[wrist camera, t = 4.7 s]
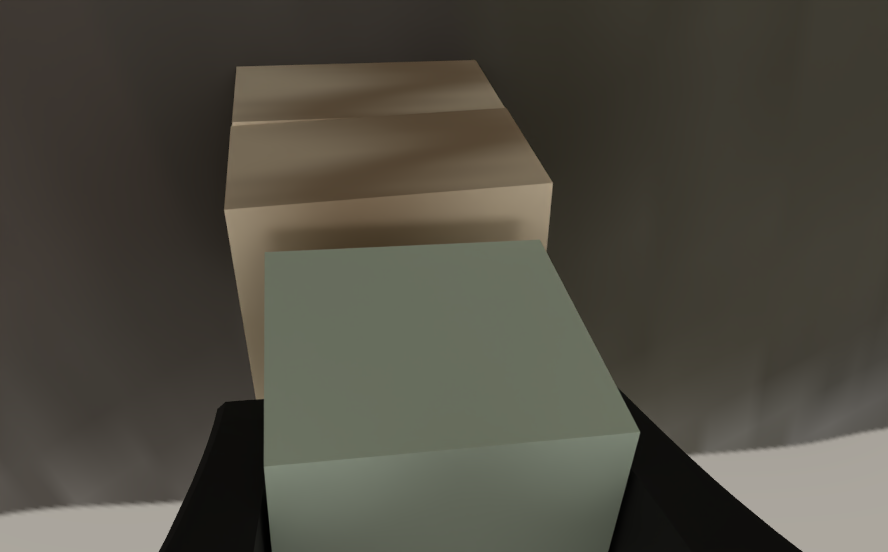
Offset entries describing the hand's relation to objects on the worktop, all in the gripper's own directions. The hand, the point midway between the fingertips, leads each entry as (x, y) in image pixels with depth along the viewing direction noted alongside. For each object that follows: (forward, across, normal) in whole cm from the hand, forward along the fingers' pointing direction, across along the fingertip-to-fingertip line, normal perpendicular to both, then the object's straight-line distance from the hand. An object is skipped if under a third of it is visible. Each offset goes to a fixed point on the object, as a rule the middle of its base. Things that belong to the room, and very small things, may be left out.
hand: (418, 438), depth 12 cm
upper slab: (+6, 0, 0) cm, 6 cm away
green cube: (+2, 0, 0) cm, 2 cm away
